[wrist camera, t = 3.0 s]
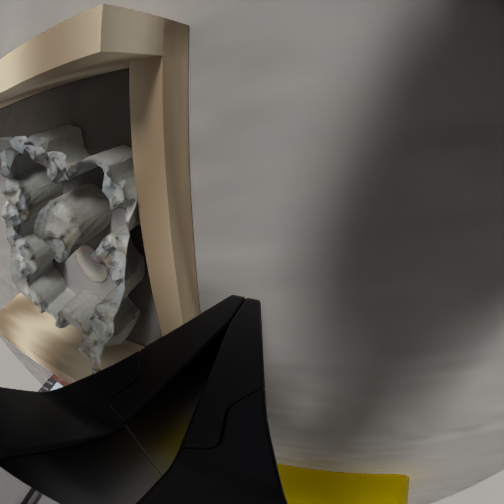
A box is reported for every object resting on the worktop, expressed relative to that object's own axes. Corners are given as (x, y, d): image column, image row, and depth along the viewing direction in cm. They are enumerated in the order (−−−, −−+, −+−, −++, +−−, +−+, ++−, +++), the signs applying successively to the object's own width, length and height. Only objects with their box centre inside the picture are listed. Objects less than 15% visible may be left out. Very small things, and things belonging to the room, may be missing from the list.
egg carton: (140, 336, 16) (102, 387, 13) (50, 271, 16) (8, 307, 13) (186, 165, 10) (108, 209, 7) (56, 106, 10) (-18, 128, 7)
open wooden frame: (189, 25, 7) (102, 3, 4) (208, 379, 16) (178, 437, 12) (-23, 102, 11) (-69, 119, 8) (26, 302, 20) (-4, 331, 16)
